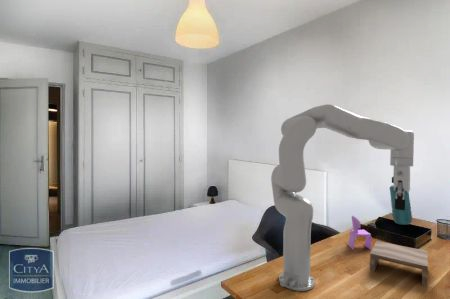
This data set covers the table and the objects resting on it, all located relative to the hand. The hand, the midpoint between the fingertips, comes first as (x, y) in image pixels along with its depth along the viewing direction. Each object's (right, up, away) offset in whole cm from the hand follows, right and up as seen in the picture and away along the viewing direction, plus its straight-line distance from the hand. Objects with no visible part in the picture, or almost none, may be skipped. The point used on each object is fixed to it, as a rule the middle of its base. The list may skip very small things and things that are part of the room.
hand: (400, 207), depth 105 cm
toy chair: (-4, -24, +23) cm, 34 cm away
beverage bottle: (+2, -7, +2) cm, 8 cm away
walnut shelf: (0, -25, +1) cm, 25 cm away
